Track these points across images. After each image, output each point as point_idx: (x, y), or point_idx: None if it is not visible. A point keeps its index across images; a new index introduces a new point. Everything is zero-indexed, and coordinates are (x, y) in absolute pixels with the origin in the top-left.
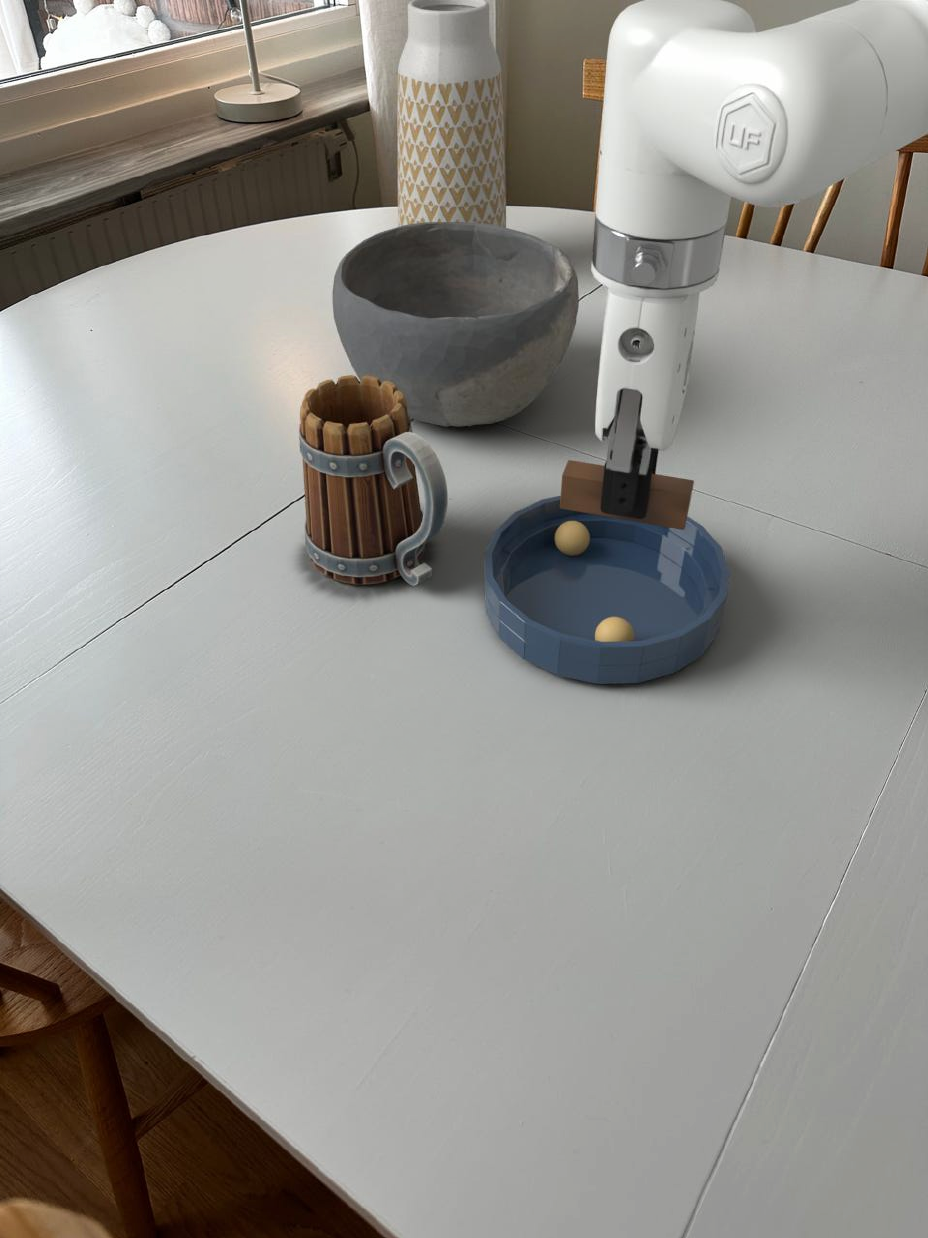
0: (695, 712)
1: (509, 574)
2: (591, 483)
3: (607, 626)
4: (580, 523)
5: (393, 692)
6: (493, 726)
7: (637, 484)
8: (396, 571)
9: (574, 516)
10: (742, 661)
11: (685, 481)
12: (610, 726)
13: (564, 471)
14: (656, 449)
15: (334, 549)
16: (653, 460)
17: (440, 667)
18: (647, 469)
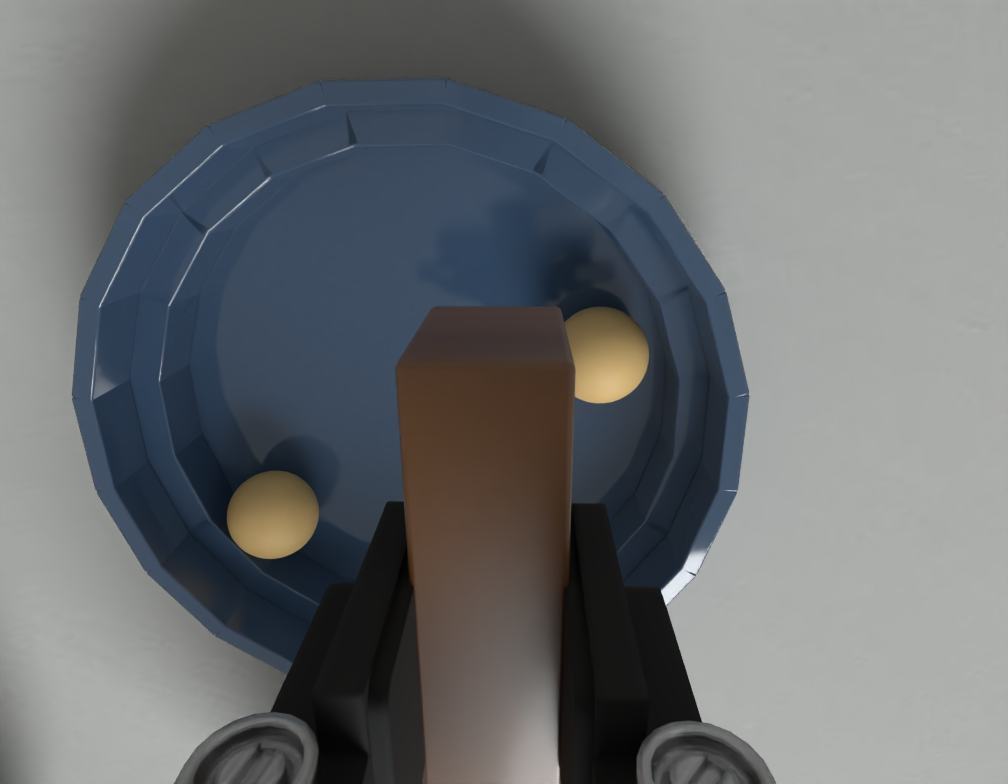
0: (735, 113)
1: None
2: None
3: (620, 387)
4: (241, 521)
5: (782, 687)
6: (843, 516)
7: (653, 686)
8: None
9: (198, 529)
10: (527, 10)
11: (429, 411)
12: (810, 300)
13: None
14: (354, 701)
15: None
16: (398, 654)
17: (704, 635)
18: (661, 741)
